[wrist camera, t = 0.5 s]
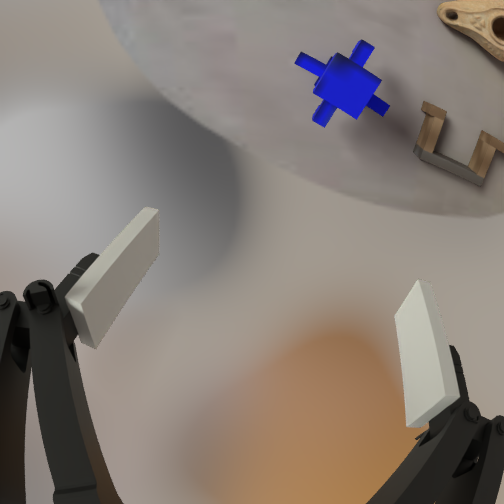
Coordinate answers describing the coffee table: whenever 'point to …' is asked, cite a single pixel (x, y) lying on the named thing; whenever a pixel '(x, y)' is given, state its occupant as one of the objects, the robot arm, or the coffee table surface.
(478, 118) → the coffee table surface
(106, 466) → the robot arm
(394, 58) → the coffee table surface
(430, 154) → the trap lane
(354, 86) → the figurine
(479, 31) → the pottery oil lamp
